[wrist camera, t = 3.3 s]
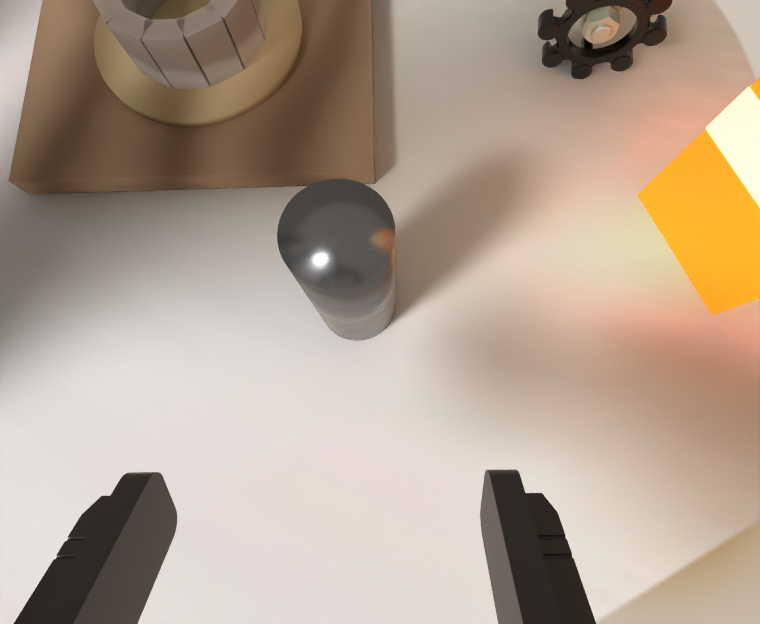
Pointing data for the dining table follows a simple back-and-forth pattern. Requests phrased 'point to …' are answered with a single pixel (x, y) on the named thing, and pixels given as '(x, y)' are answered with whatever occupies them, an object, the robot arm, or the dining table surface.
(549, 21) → the valve
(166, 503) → the robot arm
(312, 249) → the grey metal cylinder
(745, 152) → the orange juice
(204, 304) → the dining table surface
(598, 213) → the dining table surface
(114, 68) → the socket fitting
